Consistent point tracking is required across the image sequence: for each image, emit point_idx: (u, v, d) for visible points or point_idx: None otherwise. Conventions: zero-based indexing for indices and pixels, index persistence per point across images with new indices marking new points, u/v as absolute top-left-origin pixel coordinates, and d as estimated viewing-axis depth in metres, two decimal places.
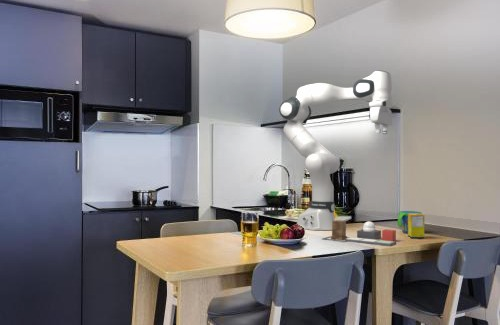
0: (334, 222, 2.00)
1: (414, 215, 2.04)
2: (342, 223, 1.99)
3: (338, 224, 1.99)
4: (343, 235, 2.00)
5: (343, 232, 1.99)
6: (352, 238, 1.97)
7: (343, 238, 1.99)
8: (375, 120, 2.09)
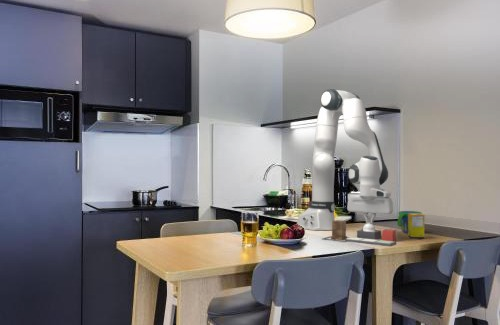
0: (334, 222, 2.00)
1: (414, 215, 2.04)
2: (342, 223, 1.99)
3: (338, 224, 1.99)
4: (343, 235, 2.00)
5: (343, 232, 1.99)
6: (352, 238, 1.97)
7: (343, 238, 1.99)
8: None
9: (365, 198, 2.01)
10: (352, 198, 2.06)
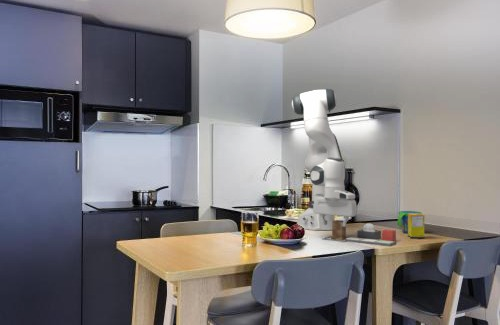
0: (334, 222, 2.00)
1: (414, 215, 2.04)
2: None
3: (338, 224, 1.99)
4: (343, 235, 2.00)
5: (343, 232, 1.99)
6: (352, 238, 1.97)
7: (343, 238, 1.99)
8: (355, 214, 1.95)
9: (329, 200, 1.99)
10: (317, 200, 2.04)
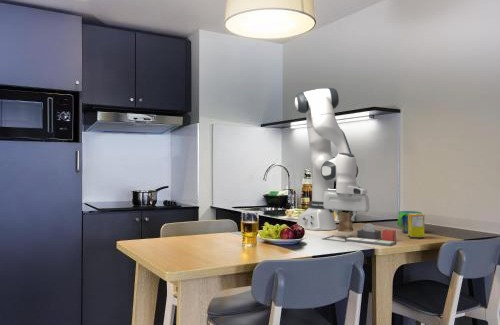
0: (341, 214, 2.00)
1: (414, 215, 2.04)
2: (349, 215, 1.99)
3: (346, 216, 1.99)
4: (350, 227, 2.00)
5: (350, 223, 2.00)
6: (352, 238, 1.97)
7: (350, 230, 1.99)
8: (368, 209, 1.97)
9: (342, 195, 1.99)
10: (328, 196, 2.04)
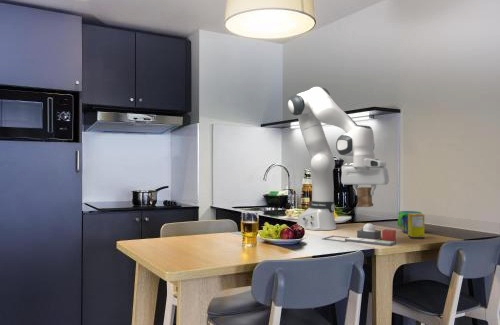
0: (359, 189, 1.92)
1: (414, 215, 2.04)
2: (368, 189, 1.91)
3: (364, 190, 1.91)
4: (369, 202, 1.92)
5: (369, 198, 1.92)
6: (352, 238, 1.97)
7: (369, 205, 1.91)
8: (387, 182, 1.88)
9: (359, 169, 1.92)
10: (345, 170, 1.97)
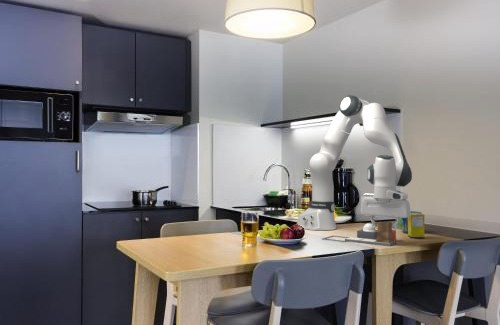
0: (380, 224, 1.88)
1: (414, 215, 2.04)
2: (389, 225, 1.87)
3: (385, 225, 1.87)
4: (389, 237, 1.88)
5: (389, 234, 1.88)
6: (352, 238, 1.97)
7: (390, 241, 1.87)
8: None
9: (380, 200, 1.87)
10: (365, 201, 1.92)
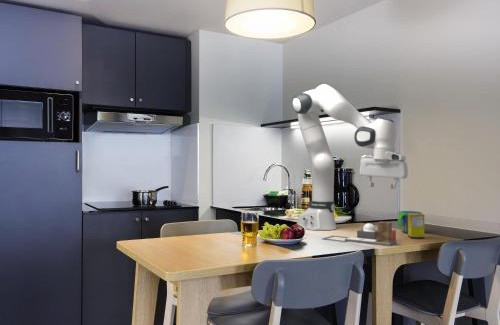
0: (380, 224, 1.88)
1: (414, 215, 2.04)
2: (389, 225, 1.87)
3: (385, 225, 1.87)
4: (389, 237, 1.88)
5: (389, 234, 1.88)
6: (352, 238, 1.97)
7: (390, 241, 1.87)
8: (406, 176, 1.91)
9: (379, 161, 1.94)
10: (365, 162, 1.99)
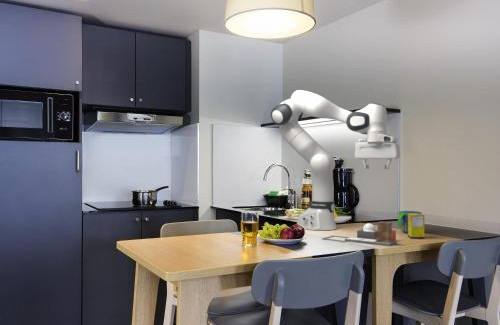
0: (380, 224, 1.88)
1: (414, 215, 2.04)
2: (389, 225, 1.87)
3: (385, 225, 1.87)
4: (389, 237, 1.88)
5: (389, 234, 1.88)
6: (352, 238, 1.97)
7: (390, 241, 1.87)
8: (398, 157, 2.03)
9: (372, 144, 2.06)
10: (359, 146, 2.11)
